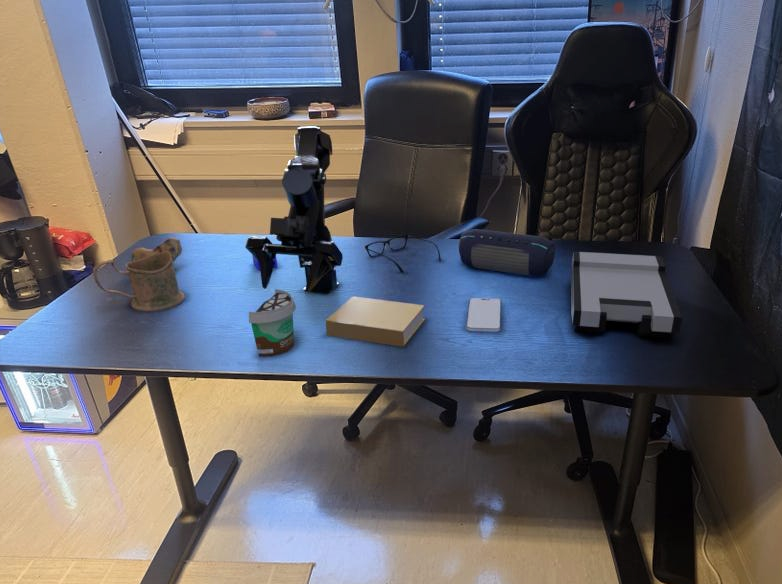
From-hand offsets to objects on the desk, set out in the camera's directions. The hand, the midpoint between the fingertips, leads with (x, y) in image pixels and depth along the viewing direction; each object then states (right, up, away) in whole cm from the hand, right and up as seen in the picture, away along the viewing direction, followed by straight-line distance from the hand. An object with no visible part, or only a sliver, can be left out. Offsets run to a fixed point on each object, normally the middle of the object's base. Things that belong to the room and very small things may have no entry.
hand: (285, 290), depth 124 cm
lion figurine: (-43, +9, +38) cm, 58 cm away
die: (-16, +11, +42) cm, 46 cm away
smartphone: (+40, -4, +15) cm, 43 cm away
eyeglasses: (+20, +13, +47) cm, 53 cm away
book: (+17, -7, +10) cm, 21 cm away
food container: (-1, -11, +2) cm, 12 cm away
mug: (-37, -1, +20) cm, 42 cm away
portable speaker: (+47, +9, +39) cm, 62 cm away
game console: (+70, -3, +17) cm, 72 cm away
